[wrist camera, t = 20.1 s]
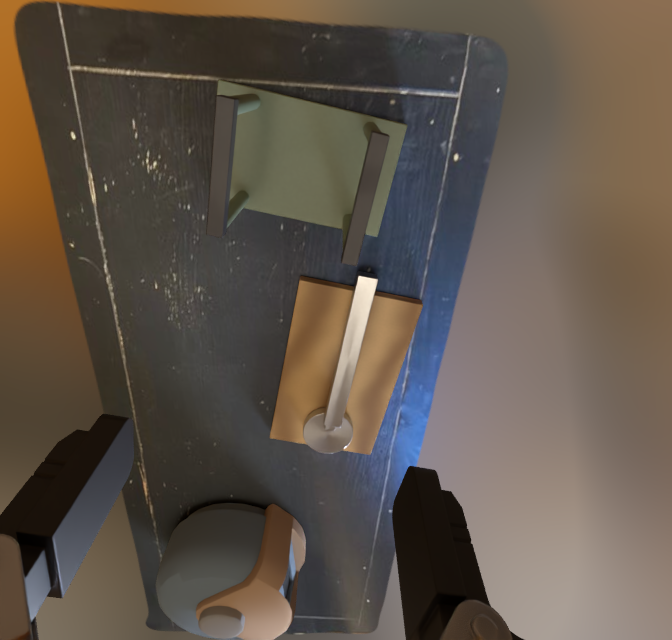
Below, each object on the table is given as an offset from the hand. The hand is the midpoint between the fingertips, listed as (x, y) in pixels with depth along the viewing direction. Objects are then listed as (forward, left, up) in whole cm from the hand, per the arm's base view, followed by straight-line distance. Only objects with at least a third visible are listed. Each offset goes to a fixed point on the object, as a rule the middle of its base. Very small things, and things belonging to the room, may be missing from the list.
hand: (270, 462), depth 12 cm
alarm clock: (+2, +53, -32) cm, 62 cm away
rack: (+2, -3, -32) cm, 32 cm away
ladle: (-6, +18, -31) cm, 37 cm away
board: (-6, +19, -32) cm, 38 cm away
